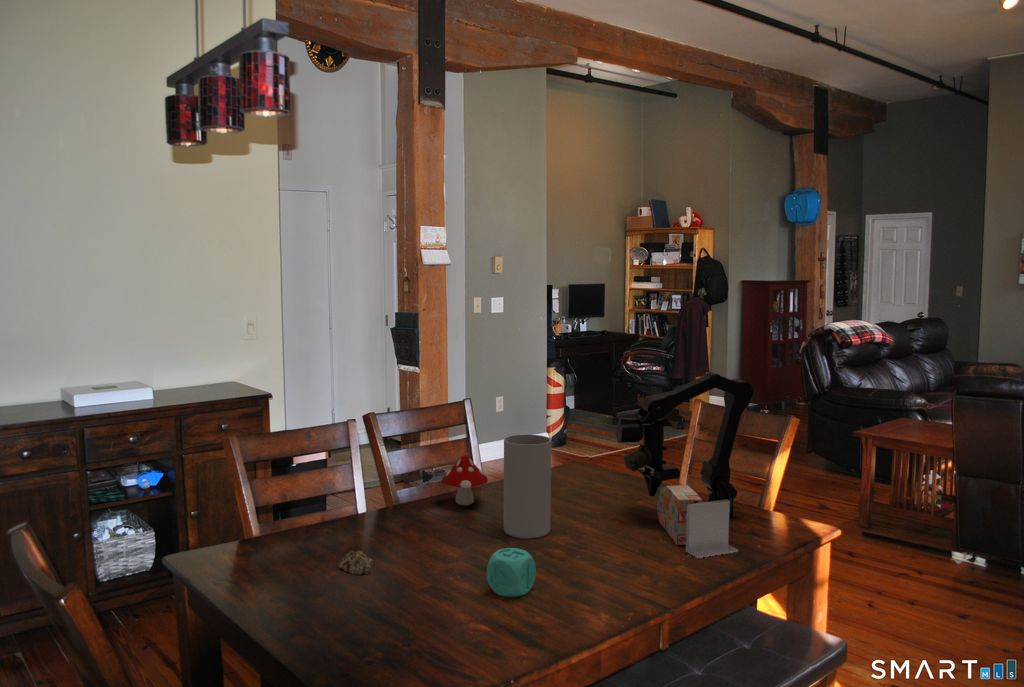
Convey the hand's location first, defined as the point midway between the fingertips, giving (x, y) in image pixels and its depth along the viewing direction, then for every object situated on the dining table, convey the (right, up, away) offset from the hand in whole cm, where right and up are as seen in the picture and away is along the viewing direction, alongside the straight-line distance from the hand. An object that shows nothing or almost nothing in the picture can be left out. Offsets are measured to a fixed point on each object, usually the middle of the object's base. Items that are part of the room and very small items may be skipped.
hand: (651, 496), depth 215 cm
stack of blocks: (+5, -8, -10) cm, 14 cm away
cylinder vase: (-35, -8, -10) cm, 38 cm away
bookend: (+10, -9, -25) cm, 28 cm away
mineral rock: (-76, -10, -36) cm, 84 cm away
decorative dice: (-39, -11, -48) cm, 63 cm away
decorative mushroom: (-53, -5, +12) cm, 55 cm away
